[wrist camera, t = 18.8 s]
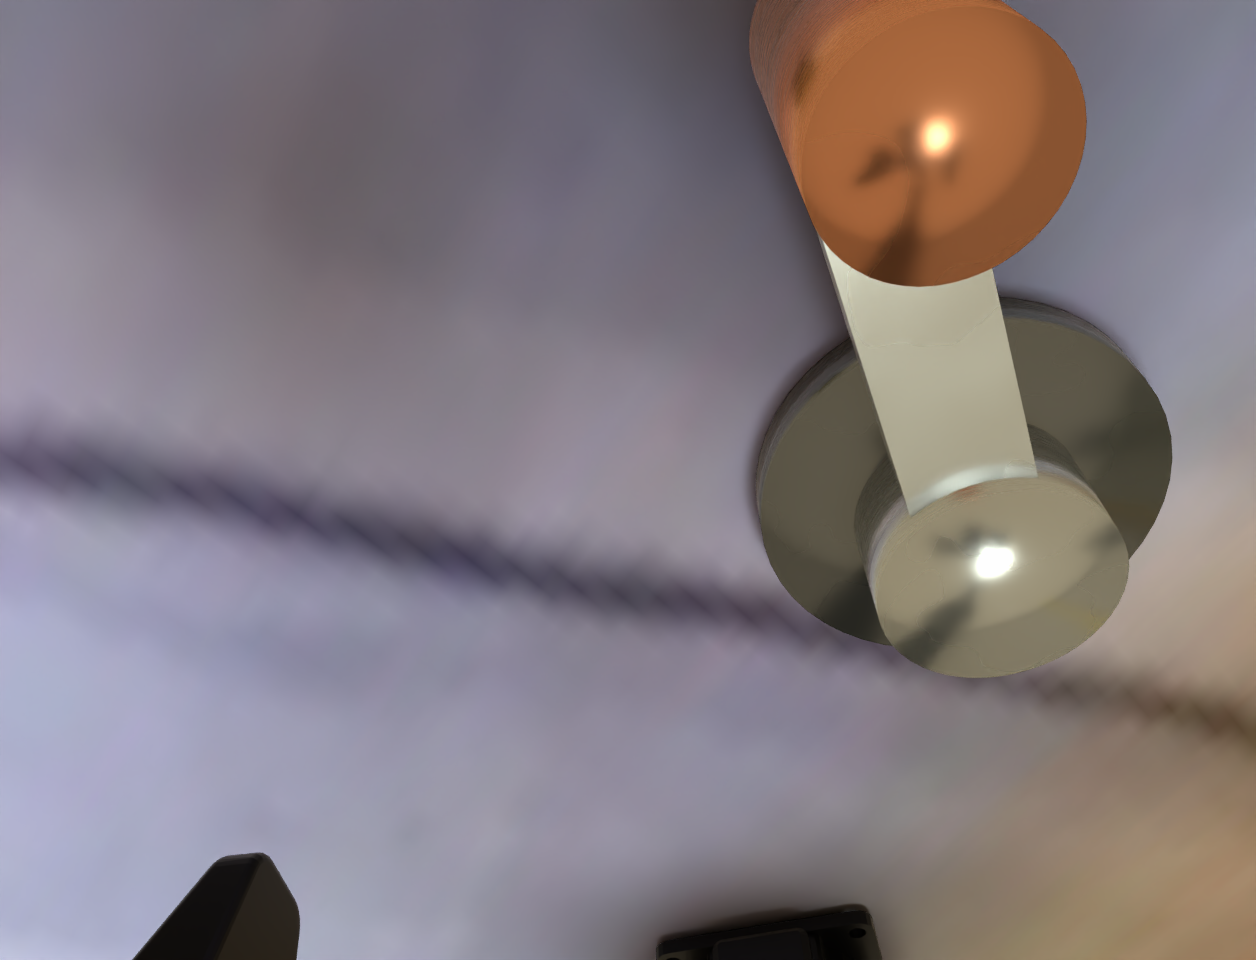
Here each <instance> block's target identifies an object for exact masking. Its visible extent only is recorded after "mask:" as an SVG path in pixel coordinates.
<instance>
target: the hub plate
mask: <svg viewBox="0 0 1256 960" xmlns="http://www.w3.org/2000/svg"><path fill="white" fill-rule="evenodd" d="M999 302H1000V306H1001V311H1002V315H1003V320H1004V324H1005V329H1006V333H1007V338H1008V342H1009V347H1010V351H1011V356H1012V360H1013V365H1014V369H1015V374H1016V379H1017V383H1018V388H1019V392H1020V397H1021V401H1022V406H1023V410H1024V415H1025V419H1026V423H1027V424H1030V425H1033V426H1036V427H1038V428H1040V429H1042V430H1044V431H1046V432H1047V433H1049V434H1050V435H1052V436H1053V437H1055V438H1056V439H1057V440H1058V441H1060V442H1061V443H1062V444H1063V445H1064V446H1065V447H1066V449H1067V450H1068V451H1069V453H1070V454H1071V455H1072V457H1073V458H1074V460H1075V461H1076V463H1077V465H1078V466H1079V468H1080V469H1081V471H1082V473H1083V474H1084V476H1085V477H1086V479H1087V481H1088V482H1089V484H1090V485H1091V487H1092V489H1093V490H1094V492H1095V493H1096V495H1097V496H1098V498H1099V500H1100V501H1101V503H1102V504H1103V506H1104V508H1105V509H1106V511H1107V512H1108V514H1109V516H1110V517H1111V519H1112V520H1113V522H1114V524H1115V525H1116V527H1117V528H1118V530H1119V532H1120V534H1121V536H1122V538H1123V540H1124V542H1125V544H1126V548H1127V552H1128V558H1129V559H1130V557H1131V556H1132V555H1133V554H1134V552H1135V551H1136V550H1137V549H1138V547H1139V546H1140V545H1141V543H1142V542H1143V541H1144V539H1145V537H1146V536H1147V534H1148V532H1149V531H1150V529H1151V527H1152V526H1153V524H1154V522H1155V520H1156V518H1157V516H1158V514H1159V511H1160V509H1161V507H1162V504H1163V502H1164V499H1165V496H1166V492H1167V488H1168V485H1169V481H1170V474H1171V465H1172V444H1171V434H1170V430H1169V426H1168V422H1167V418H1166V415H1165V413H1164V410H1163V408H1162V406H1161V404H1160V401H1159V399H1158V397H1157V395H1156V394H1155V392H1154V391H1153V390H1152V388H1151V387H1150V385H1149V384H1148V382H1147V381H1146V380H1145V378H1144V377H1143V376H1142V374H1141V373H1140V372H1139V371H1138V369H1137V368H1136V367H1135V366H1134V365H1133V363H1132V362H1131V361H1130V360H1129V358H1128V357H1127V356H1126V355H1125V353H1124V352H1123V351H1122V350H1121V349H1120V348H1119V347H1118V346H1117V345H1116V344H1115V343H1114V342H1113V341H1112V340H1111V339H1110V338H1109V337H1108V336H1107V335H1105V334H1104V333H1102V332H1101V331H1100V330H1098V329H1097V328H1095V327H1094V326H1093V325H1091V324H1090V323H1088V322H1087V321H1085V320H1083V319H1080V318H1078V317H1076V316H1074V315H1072V314H1070V313H1068V312H1066V311H1064V310H1060V309H1057V308H1054V307H1051V306H1048V305H1045V304H1042V303H1037V302H1031V301H1026V300H1020V299H1014V298H999ZM887 457H888V454H887V451H886V448H885V445H884V442H883V439H882V436H881V432H880V429H879V426H878V423H877V420H876V417H875V414H874V411H873V407H872V404H871V401H870V398H869V395H868V392H867V389H866V385H865V382H864V379H863V376H862V373H861V370H860V367H859V364H858V360H857V357H856V354H855V351H854V348H853V345H852V342H851V339H850V338H849V339H848V340H846V341H845V342H844V343H842V344H841V345H840V346H838V347H837V348H835V349H834V350H833V351H831V352H830V353H828V354H827V355H826V356H825V357H824V358H823V359H821V360H820V361H819V362H818V363H817V364H816V365H815V366H814V367H813V368H812V369H810V370H809V371H808V372H807V373H806V374H805V375H804V377H803V378H802V379H801V380H800V381H799V382H798V384H797V385H796V386H795V387H794V388H793V389H792V391H791V392H790V393H789V394H788V396H787V397H786V399H785V400H784V402H783V403H782V405H781V406H780V408H779V409H778V411H777V413H776V414H775V416H774V418H773V420H772V423H771V425H770V427H769V429H768V431H767V433H766V435H765V438H764V441H763V445H762V448H761V451H760V454H759V459H758V465H757V472H756V501H757V507H758V513H759V519H760V524H761V530H762V535H763V541H764V547H765V549H766V552H767V555H768V558H769V561H770V564H771V566H772V568H773V569H774V571H775V573H776V575H777V577H778V578H779V580H780V582H781V583H782V585H783V586H784V587H785V588H786V590H787V591H788V592H789V593H790V595H791V596H792V597H793V598H794V599H795V600H796V601H797V602H798V603H799V604H800V605H801V606H803V607H804V608H805V609H806V610H807V611H808V612H810V613H811V614H812V615H814V616H815V617H817V618H818V619H820V620H821V621H823V622H824V623H826V624H828V625H830V626H832V627H834V628H836V629H838V630H840V631H842V632H844V633H847V634H849V635H852V636H855V637H857V638H860V639H863V640H867V641H871V642H875V643H879V644H883V645H890V646H892V644H891V643H890V641H889V640H888V639H887V637H886V636H885V634H884V631H883V629H882V627H881V625H880V621H879V618H878V614H877V611H876V608H875V604H874V601H873V597H872V594H871V591H870V587H869V584H868V580H867V577H866V574H865V570H864V567H863V563H862V560H861V556H860V553H859V550H858V546H857V542H856V539H855V534H854V515H855V509H856V505H857V501H858V499H859V496H860V494H861V491H862V489H863V487H864V486H865V484H866V482H867V481H868V479H869V477H870V476H871V475H872V473H873V472H874V471H875V470H876V468H877V467H878V466H879V465H880V464H881V463H882V462H883V461H884V460H885V459H886V458H887Z"/></svg>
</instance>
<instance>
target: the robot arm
mask: <svg viewBox="0 0 1256 960" xmlns="http://www.w3.org/2000/svg"><path fill="white" fill-rule="evenodd" d="M299 932H300V916H299V910H298V906H297V903H296V901H295V899H294V897H293V895H292V894H291V892H290V890H289V889H288V887H287V885H286V883H285V882H284V880H283V878H282V877H281V875H280V873H279V871H278V870H277V868H276V866H275V865H274V863H273V861H272V860H271V858H270V857H269V856H267V855H266V854H264V853H249V854H239V855H229V856H225V857H222V858H220V859H219V860H217V861H216V862H215V863H214V864H212V866H211V867H210V868H209V869H208V870H207V871H206V872H205V874H204V875H203V876H202V877H201V878H200V880H199V881H198V882H197V883H196V884H195V886H194V887H193V888H192V889H191V890H190V891H189V893H188V894H187V895H186V896H185V897H184V899H183V900H182V901H181V902H180V903H179V905H178V906H177V907H176V908H175V909H174V911H173V912H172V913H171V914H170V915H169V916H168V918H167V919H166V920H165V921H164V922H163V924H162V925H161V926H160V927H159V928H158V930H157V931H156V932H155V933H154V934H153V936H152V937H151V938H150V939H149V940H148V941H147V943H146V944H145V945H144V946H143V947H142V949H141V950H140V951H139V952H138V953H137V955H136V956H135V957H134V958H133V959H132V960H296V958H297V949H298V941H299ZM656 960H882V956H881V952H880V948H879V944H878V940H877V936H876V932H875V928H874V924H873V920H872V917H871V916H870V914H868V913H866V912H863V911H849V912H843V913H837V914H831V915H824V916H818V917H812V918H806V919H800V920H793V921H787V922H781V923H775V924H769V925H762V926H756V927H750V928H744V929H738V930H731V931H725V932H719V933H713V934H706V935H700V936H694V937H688V938H682V939H675V940H669V941H665V942H662V943H661V944H659V945H658V946H657V948H656Z"/></svg>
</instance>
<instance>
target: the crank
mask: <svg viewBox="0 0 1256 960" xmlns="http://www.w3.org/2000/svg"><path fill="white" fill-rule="evenodd" d="M749 52H750V60H751V65H752V69H753V73H754V76H755V79H756V81H757V84H758V86H759V89H760V91H761V94H762V97H763V99H764V102H765V104H766V107H767V109H768V112H769V114H770V117H771V119H772V122H773V124H774V127H775V130H776V132H777V135H778V137H779V140H780V142H781V145H782V147H783V150H784V152H785V155H786V157H787V160H788V163H789V165H790V168H791V170H792V173H793V175H794V178H795V180H796V183H797V185H798V188H799V191H800V193H801V196H802V198H803V201H804V203H805V206H806V208H807V211H808V213H809V216H810V218H811V221H812V223H813V225H814V227H815V229H816V232H817V235H818V238H819V241H820V245H821V248H822V251H823V254H824V257H825V260H826V263H827V267H828V270H829V273H830V276H831V279H832V282H833V285H834V288H835V292H836V295H837V298H838V301H839V304H840V307H841V310H842V313H843V317H844V320H845V323H846V326H847V329H848V332H849V335H850V339H851V342H852V345H853V348H854V351H855V354H856V357H857V360H858V364H859V367H860V370H861V373H862V376H863V379H864V382H865V385H866V389H867V392H868V395H869V398H870V401H871V404H872V407H873V411H874V414H875V417H876V420H877V423H878V426H879V429H880V432H881V436H882V439H883V442H884V445H885V448H886V451H887V454H888V457H887V458H886V459H885V460H884V461H883V462H882V463H881V464H880V465H879V466H878V467H877V468H876V470H875V471H874V472H873V473H872V475H871V476H870V477H869V479H868V481H867V482H866V484H865V486H864V487H863V489H862V491H861V494H860V496H859V499H858V501H857V505H856V509H855V515H854V534H855V539H856V542H857V546H858V550H859V553H860V556H861V560H862V563H863V567H864V570H865V574H866V577H867V580H868V584H869V587H870V591H871V594H872V597H873V601H874V604H875V608H876V611H877V614H878V618H879V621H880V625H881V627H882V629H883V631H884V634H885V636H886V637H887V639H888V640H889V641H890V643H891V644H892V646H894V647H895V648H896V649H897V650H898V651H899V652H900V653H901V654H902V655H903V656H905V657H906V658H907V659H909V660H910V661H912V662H914V663H915V664H917V665H919V666H921V667H923V668H926V669H929V670H931V671H934V672H938V673H941V674H945V675H951V676H957V677H969V678H984V677H997V676H1004V675H1010V674H1014V673H1019V672H1023V671H1026V670H1029V669H1033V668H1036V667H1039V666H1041V665H1044V664H1046V663H1048V662H1051V661H1053V660H1055V659H1057V658H1059V657H1061V656H1063V655H1065V654H1067V653H1068V652H1070V651H1071V650H1073V649H1074V648H1076V647H1078V646H1079V645H1080V644H1082V643H1083V642H1084V641H1086V640H1087V639H1088V638H1089V637H1091V636H1092V635H1093V634H1094V633H1095V632H1096V631H1097V630H1098V629H1099V628H1100V627H1101V626H1102V625H1103V624H1104V623H1105V622H1106V620H1107V619H1108V618H1109V617H1110V615H1111V614H1112V613H1113V611H1114V610H1115V608H1116V606H1117V605H1118V603H1119V601H1120V599H1121V597H1122V595H1123V592H1124V590H1125V586H1126V583H1127V579H1128V572H1129V558H1128V552H1127V548H1126V544H1125V542H1124V540H1123V538H1122V536H1121V534H1120V532H1119V530H1118V528H1117V527H1116V525H1115V524H1114V522H1113V520H1112V519H1111V517H1110V516H1109V514H1108V512H1107V511H1106V509H1105V508H1104V506H1103V504H1102V503H1101V501H1100V500H1099V498H1098V496H1097V495H1096V493H1095V492H1094V490H1093V489H1092V487H1091V485H1090V484H1089V482H1088V481H1087V479H1086V477H1085V476H1084V474H1083V473H1082V471H1081V469H1080V468H1079V466H1078V465H1077V463H1076V461H1075V460H1074V458H1073V457H1072V455H1071V454H1070V453H1069V451H1068V450H1067V449H1066V447H1065V446H1064V445H1063V444H1062V443H1061V442H1060V441H1058V440H1057V439H1056V438H1055V437H1053V436H1052V435H1050V434H1049V433H1047V432H1046V431H1044V430H1042V429H1040V428H1038V427H1036V426H1033V425H1030V424H1027V423H1026V419H1025V415H1024V410H1023V406H1022V401H1021V397H1020V392H1019V388H1018V383H1017V379H1016V374H1015V369H1014V365H1013V360H1012V356H1011V351H1010V347H1009V342H1008V338H1007V333H1006V329H1005V324H1004V320H1003V315H1002V311H1001V306H1000V302H999V297H998V293H997V288H996V284H995V279H994V275H993V270H992V268H993V267H995V266H997V265H999V264H1001V263H1002V262H1004V261H1005V260H1007V259H1008V258H1010V257H1011V256H1013V255H1014V254H1016V253H1017V252H1019V251H1020V250H1021V249H1022V248H1023V247H1024V246H1026V245H1027V244H1028V243H1029V242H1030V241H1031V240H1033V239H1034V238H1035V237H1036V236H1037V234H1038V233H1039V232H1040V231H1041V230H1042V229H1043V228H1044V227H1045V226H1046V225H1047V224H1048V222H1049V221H1050V220H1051V218H1052V217H1053V216H1054V215H1055V213H1056V212H1057V211H1058V209H1059V208H1060V206H1061V204H1062V203H1063V201H1064V199H1065V198H1066V196H1067V194H1068V192H1069V190H1070V188H1071V186H1072V184H1073V182H1074V179H1075V177H1076V175H1077V172H1078V169H1079V165H1080V162H1081V159H1082V155H1083V150H1084V145H1085V139H1086V123H1087V120H1086V107H1085V100H1084V96H1083V91H1082V87H1081V84H1080V81H1079V79H1078V76H1077V74H1076V71H1075V69H1074V67H1073V65H1072V64H1071V62H1070V60H1069V58H1068V57H1067V55H1066V53H1065V52H1064V51H1063V50H1062V49H1061V48H1060V46H1059V45H1058V44H1057V43H1056V42H1055V40H1054V39H1052V38H1051V37H1050V36H1049V35H1048V34H1047V33H1045V32H1044V31H1043V30H1042V29H1041V28H1039V27H1038V26H1036V25H1035V24H1034V23H1032V22H1031V21H1029V20H1028V19H1026V18H1025V17H1024V16H1022V15H1021V14H1019V13H1018V12H1016V11H1015V10H1014V9H1012V8H1011V7H1009V6H1008V5H1007V4H1005V3H1004V2H1002V1H1001V0H757V2H756V5H755V8H754V12H753V16H752V19H751V26H750V33H749Z"/></svg>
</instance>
